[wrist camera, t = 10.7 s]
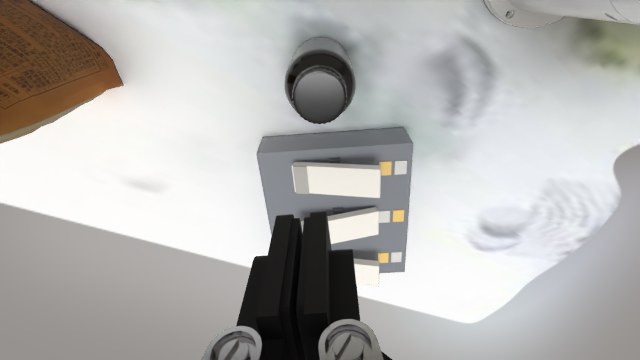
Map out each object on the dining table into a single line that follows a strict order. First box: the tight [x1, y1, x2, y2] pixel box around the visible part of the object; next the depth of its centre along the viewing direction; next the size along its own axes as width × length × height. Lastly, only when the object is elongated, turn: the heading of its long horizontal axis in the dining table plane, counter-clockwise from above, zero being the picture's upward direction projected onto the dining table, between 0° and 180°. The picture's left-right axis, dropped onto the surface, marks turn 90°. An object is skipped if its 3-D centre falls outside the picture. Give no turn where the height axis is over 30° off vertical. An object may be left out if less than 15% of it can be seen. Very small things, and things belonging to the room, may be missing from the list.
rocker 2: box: [301, 207, 379, 244], centre depth 42 cm, size 10×4×1 cm, turn 94°
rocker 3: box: [354, 259, 380, 287], centre depth 46 cm, size 10×4×1 cm, turn 94°
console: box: [257, 127, 413, 273], centre depth 46 cm, size 18×20×6 cm
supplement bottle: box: [285, 37, 355, 124], centre depth 34 cm, size 7×7×12 cm
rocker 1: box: [292, 162, 381, 198], centre depth 39 cm, size 10×4×1 cm, turn 94°
